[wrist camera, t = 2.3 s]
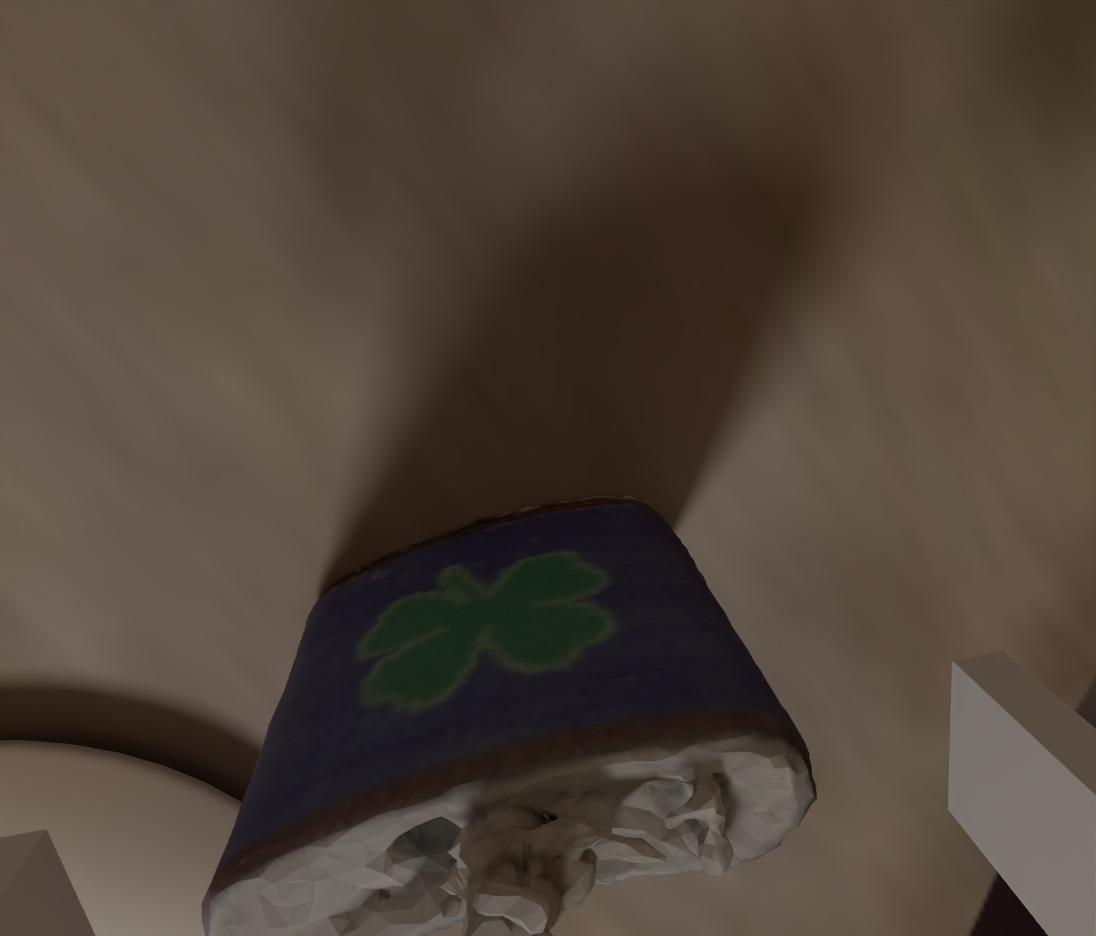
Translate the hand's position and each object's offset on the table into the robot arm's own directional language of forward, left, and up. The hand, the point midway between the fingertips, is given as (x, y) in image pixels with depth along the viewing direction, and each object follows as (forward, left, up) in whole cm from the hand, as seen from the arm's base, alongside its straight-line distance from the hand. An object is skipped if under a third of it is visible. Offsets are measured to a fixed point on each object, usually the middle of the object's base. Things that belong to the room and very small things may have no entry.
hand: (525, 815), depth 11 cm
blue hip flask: (0, 0, -9) cm, 9 cm away
